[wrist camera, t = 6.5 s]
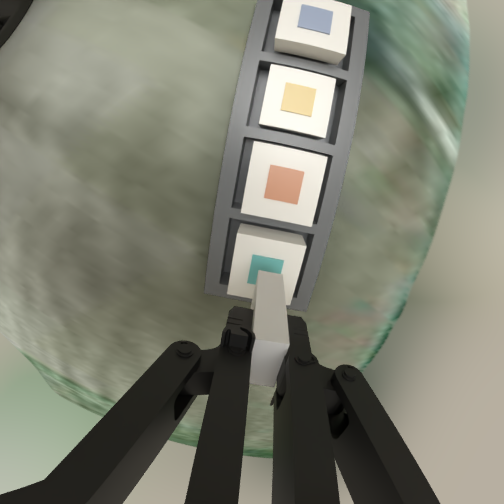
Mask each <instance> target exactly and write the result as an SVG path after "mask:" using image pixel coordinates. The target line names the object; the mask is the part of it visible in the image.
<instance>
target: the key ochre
mask: <svg viewBox="0 0 504 504" xmlns="http://www.w3.org/2000/svg"><path fill="white" fill-rule="evenodd" d="M335 83H336V79H335V78H331V77H327V76H324V75H320V74H316V73H312V72H308V71H304V70H299V69H295V68H290V67H285V66H280V65H274V64H271V66H270V71H269V76H268V81H267V86H266V90H265V95H264V100H263V105H262V110H261V115H260V121H259V126H260V127H262V128H268V129H273V130H278V131H283V132H288V133H292V134H297V135H301V136H306V137H310V138H314V139H318V140H319V139H324V138H325V137H326V132H327V127H328V122H329V117H330V111H331V106H332V100H333V94H334V89H335Z"/></svg>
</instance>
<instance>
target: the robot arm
mask: <svg viewBox="0 0 504 504" xmlns="http://www.w3.org/2000/svg"><path fill="white" fill-rule="evenodd" d="M31 2H32V0H0V47H1V46H2V45H3V43H4V42H5V41H6V40H7V39H8V37H9V36H10V35H11V33H12V32H13V31H14V29H15V28H16V27H17V25H18V24H19V22H20V21H21V19H22V17H23V16H24V14H25V13H26V11H27V9H28V8H29V6H30V4H31ZM276 380H277V388H276V391H275V393H274V396H273V398H272V400H271V403H270V405H271V406H272V405H273V403H274V431H273V480H272V504H340V501H339V491H338V483H337V475H336V467H335V460H336V463H337V465H338V467H339V470H340V471H341V474H342V476H343V479H344V481H345V483H346V486H347V488H348V490H349V493H350V495H351V497H352V500H353V502H354V504H440V503H439V500H438V499H437V497H436V495H435V493H434V492H433V490H432V488H431V487H430V485H429V483H428V481H427V479H426V478H425V476H424V474H423V473H422V471H421V469H420V467H419V466H418V464H417V462H416V460H415V459H414V457H413V455H412V454H411V452H410V451H409V449H408V447H407V445H406V444H405V442H404V441H403V439H402V437H401V435H400V434H399V432H398V431H397V429H396V427H395V426H394V424H393V422H392V421H391V419H390V417H389V416H388V414H387V413H386V411H385V410H384V408H383V406H382V405H381V403H380V402H379V400H378V398H377V397H376V395H375V394H374V392H373V390H372V389H371V387H370V386H369V384H368V382H367V381H366V379H365V378H364V376H363V375H362V373H361V372H360V371H359V370H358V369H357V368H355V367H354V366H350V365H340V366H338V367H337V368H336V369H335V370H332V369H329V368H326V367H324V366H322V365H320V364H319V363H318V360H317V358H316V357H315V356H314V355H313V354H312V353H311V348H310V342H309V337H308V331H307V326H306V323H305V321H304V320H303V319H302V318H301V317H297V316H291V315H287V310H286V300H285V290H284V280H283V274H277V273H272V272H267V271H261V270H259V271H258V276H257V280H256V285H255V290H254V294H253V299H252V303H251V308H250V309H247V308H242V307H236V306H234V307H233V308H232V309H231V310H230V311H229V315H228V319H227V323H226V327H225V328H224V330H223V332H222V338H221V344H220V345H219V346H218V347H216V348H214V349H209V350H200V348H199V347H198V346H197V345H196V344H194V343H193V342H189V341H177V342H174V343H173V344H171V345H170V346H169V347H168V348H167V349H166V350H165V351H164V352H163V353H162V355H161V356H160V357H159V358H158V359H157V360H156V361H155V362H154V363H153V364H152V365H151V366H150V367H149V369H148V370H147V371H146V372H145V373H144V374H143V375H142V376H141V377H140V378H139V379H138V380H137V381H136V382H135V384H134V385H133V386H132V387H131V388H130V389H129V390H128V391H127V392H126V393H125V394H124V395H123V396H122V398H121V399H120V400H119V401H118V402H117V403H116V404H115V405H114V406H113V407H112V408H111V409H110V410H109V411H108V412H107V414H106V415H105V416H104V417H103V418H102V419H101V420H100V421H99V422H98V423H97V424H96V425H95V426H94V427H93V428H92V430H91V431H90V432H89V433H88V434H87V435H86V436H85V437H84V438H83V439H82V440H81V441H80V442H79V443H78V445H77V446H76V447H75V448H74V449H73V450H72V451H71V452H70V453H69V454H68V455H67V456H66V457H65V458H64V459H63V461H61V463H60V464H59V465H58V466H57V467H56V468H55V469H54V470H53V471H52V472H51V473H50V474H49V475H48V476H47V477H46V478H45V479H44V480H42V481H40V482H37V483H34V484H31V485H29V486H26V487H23V488H20V489H17V490H14V491H11V492H7V493H4V494H1V495H0V504H123V502H124V501H125V500H126V498H127V497H128V495H129V494H130V493H131V491H132V490H133V489H134V487H135V486H136V484H137V483H138V482H139V480H140V479H141V477H142V476H143V475H144V473H145V472H146V470H147V469H148V468H149V466H150V465H151V463H152V462H153V461H154V459H155V458H156V456H157V455H158V453H159V452H160V450H161V449H162V448H163V446H164V444H165V443H166V442H167V440H168V439H169V437H170V436H171V434H172V433H173V431H174V430H175V428H176V427H177V426H178V424H179V423H180V421H181V420H182V418H183V417H184V415H185V414H186V412H187V411H188V409H189V408H190V406H191V404H192V403H193V401H194V400H195V398H196V397H197V395H208V394H209V397H208V401H207V405H206V410H205V414H204V419H203V423H202V427H201V432H200V436H199V441H198V445H197V450H196V454H195V459H194V463H193V468H192V472H191V477H190V481H189V486H188V491H187V495H186V499H185V503H184V504H238V498H239V488H240V477H241V468H242V457H243V447H244V436H245V426H246V415H247V404H248V393H249V384H255V385H262V386H269V387H274V386H275V383H276ZM334 458H335V459H334Z"/></svg>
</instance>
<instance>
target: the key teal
mask: <svg viewBox="0 0 504 504" xmlns="http://www.w3.org/2000/svg"><path fill="white" fill-rule="evenodd" d="M306 247H307V246H306V244H305V241H304V239H303V236H302V235H299V234H294V233H289V232H284V231H279V230H274V229H269V228H264V227H259V226H254V225H248V224H243V223H241V224H240V227H239V229H238V232H237V237H236V243H235V248H234V254H233V260H232V266H231V272H230V278H229V284H228V290H227V294H229V295H234V296H240V297H245V298H250V299H253V294H254V290H255V285H256V280H257V276H258V271H259V270H261V271H267V272H272V273H277V274H283V280H284V290H285V300H286V305H290V304H291V300H292V297H293V294H294V290H295V287H296V283H297V280H298V276H299V272H300V269H301V265H302V262H303V258H304V254H305V250H306Z"/></svg>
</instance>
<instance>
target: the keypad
mask: <svg viewBox="0 0 504 504" xmlns="http://www.w3.org/2000/svg"><path fill="white" fill-rule="evenodd" d="M337 2H338V1H337ZM282 4H283V0H257V4H256V8H255V12H254V15H253V19H252V23H251V27H250V31H249V35H248V39H247V44H246V48H245V52H244V56H243V61H242V65H241V70H240V74H239V79H238V84H237V88H236V93H235V98H234V103H233V108H232V113H231V118H230V123H229V129H228V134H227V139H226V145H225V150H224V156H223V162H222V168H221V174H220V180H219V186H218V192H217V199H216V205H215V212H214V218H213V225H212V232H211V240H210V247H209V255H208V262H207V270H206V279H205V287H204V293H205V294H210V295H215V296H220V297H225V298H230V299H235V300H241V301H246V302H251V303H252V299H250V298H245V297H240V296H234V295H229V294H227V290H228V284H229V278H230V272H231V266H232V260H233V254H234V248H235V243H236V237H237V232H238V229H239V227H240V224H241V223H243V224H248V225H254V226H259V227H264V228H269V229H274V230H279V231H284V232H289V233H294V234H299V235H302V236H303V239H304V241H305V244H306V246H307V247H306V250H305V254H304V258H303V262H302V265H301V269H300V272H299V276H298V280H297V283H296V287H295V290H294V294H293V297H292V300H291V304H290V305H286V309H292V310H298V311H305V312H306V311H307V308H308V305H309V302H310V299H311V296H312V293H313V290H314V286H315V283H316V280H317V277H318V274H319V270H320V267H321V264H322V260H323V257H324V253H325V250H326V246H327V243H328V239H329V236H330V232H331V228H332V225H333V221H334V217H335V213H336V209H337V205H338V201H339V197H340V193H341V189H342V185H343V180H344V176H345V172H346V167H347V163H348V158H349V153H350V148H351V143H352V138H353V133H354V128H355V123H356V117H357V111H358V106H359V99H360V93H361V87H362V80H363V73H364V65H365V57H366V48H367V39H368V28H369V15H370V12H368V11H365V10H362V9H360V8H357V7H354V6H352V9H351V19H350V27H349V36H348V43H347V51H346V55H345V57H344V58H343V59H342V60H341V61H340V62H339V63H338V65H334V64H330V63H327V62H323V61H319V60H315V59H311V58H307V57H303V56H298V55H293V54H288V53H283V52H278V51H274V44H275V35H276V30H277V26H278V21H279V17H280V12H281V8H282ZM350 6H351V5H350ZM271 64H274V65H280V66H285V67H290V68H295V69H299V70H304V71H308V72H312V73H316V74H320V75H324V76H327V77H331V78H335V79H336V83H335V89H334V94H333V100H332V106H331V111H330V117H329V122H328V127H327V132H326V137H325V138H324V139H319V140H318V139H314V138H310V137H306V136H301V135H297V134H292V133H288V132H283V131H278V130H273V129H268V128H262V127H260V126H259V121H260V115H261V110H262V105H263V100H264V95H265V90H266V86H267V81H268V76H269V71H270V66H271ZM254 141H257V142H262V143H267V144H273V145H278V146H283V147H287V148H292V149H296V150H301V151H305V152H309V153H314V154H318V155H322V156H325V157H328V158H327V163H326V168H325V172H324V177H323V181H322V185H321V190H320V194H319V198H318V203H317V207H316V211H315V215H314V219H313V223H312V227H309V226H304V225H299V224H295V223H290V222H285V221H280V220H275V219H270V218H265V217H259V216H254V215H249V214H244V213H241V208H242V203H243V197H244V192H245V186H246V181H247V175H248V170H249V164H250V159H251V154H252V148H253V143H254Z"/></svg>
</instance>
